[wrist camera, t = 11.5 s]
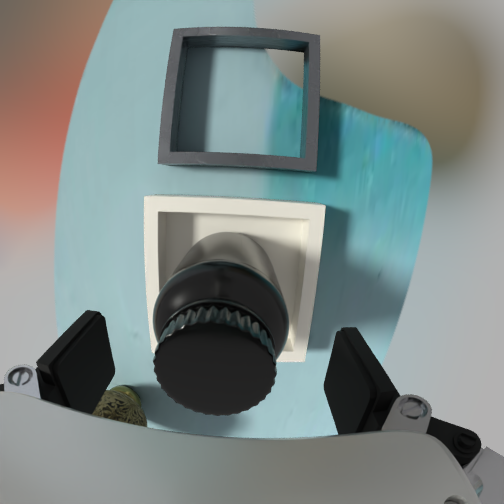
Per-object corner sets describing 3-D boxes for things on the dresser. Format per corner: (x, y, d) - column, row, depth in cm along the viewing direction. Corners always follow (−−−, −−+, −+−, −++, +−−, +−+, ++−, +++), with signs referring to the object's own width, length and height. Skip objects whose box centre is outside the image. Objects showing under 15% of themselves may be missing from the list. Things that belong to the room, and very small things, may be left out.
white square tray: (155, 194, 21) (144, 196, 18) (316, 202, 21) (325, 205, 18) (159, 337, 23) (152, 352, 21) (299, 345, 24) (304, 362, 21)
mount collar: (179, 40, 18) (173, 28, 16) (314, 46, 18) (319, 35, 16) (165, 165, 20) (157, 163, 18) (309, 172, 20) (316, 171, 18)
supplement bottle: (203, 325, 23) (172, 440, 11) (170, 247, 21) (94, 319, 9) (285, 300, 22) (318, 410, 11) (257, 217, 21) (271, 263, 9)
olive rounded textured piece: (174, 413, 26) (158, 472, 18) (124, 424, 26) (102, 474, 18) (131, 359, 24) (99, 416, 16) (83, 376, 25) (49, 424, 17)
